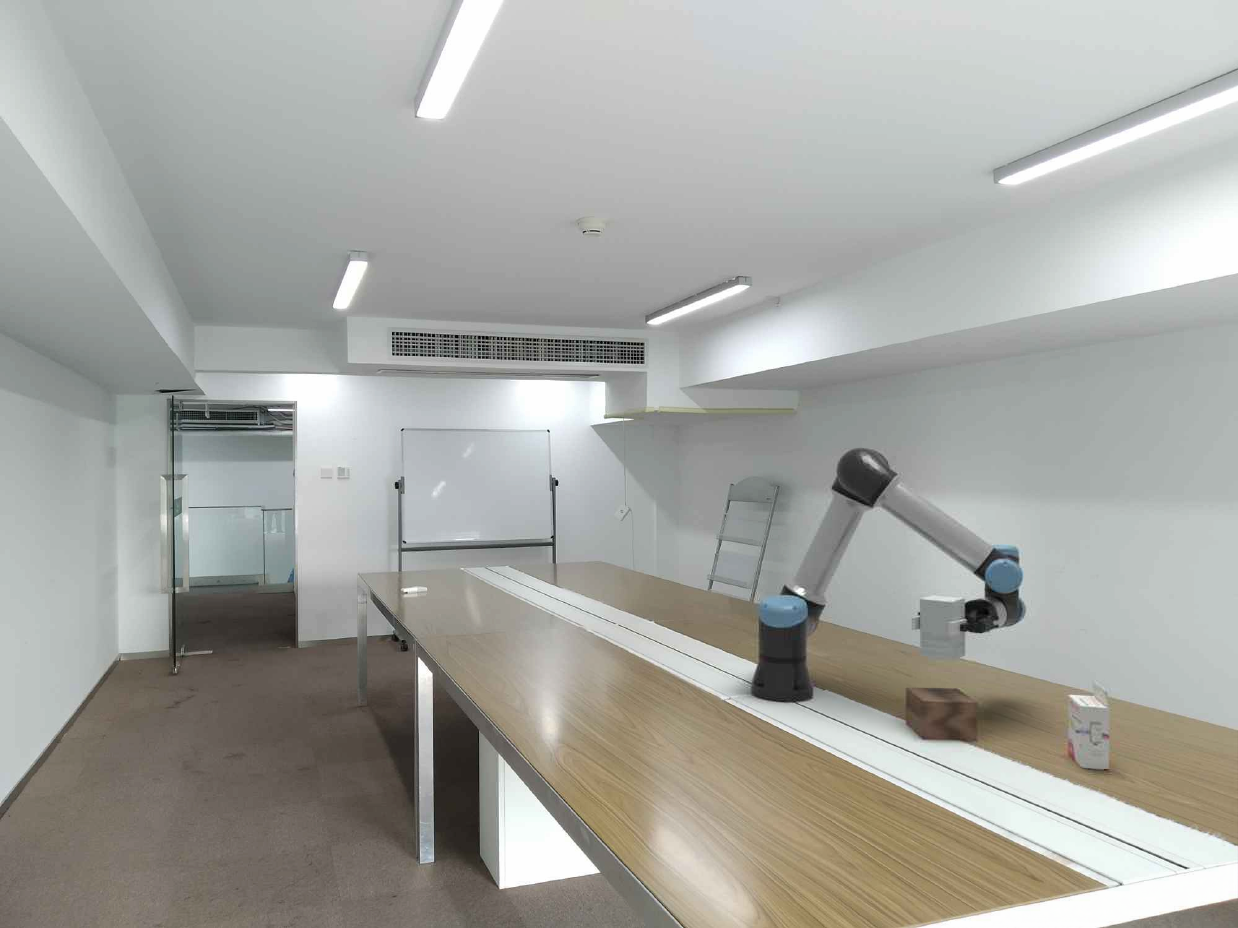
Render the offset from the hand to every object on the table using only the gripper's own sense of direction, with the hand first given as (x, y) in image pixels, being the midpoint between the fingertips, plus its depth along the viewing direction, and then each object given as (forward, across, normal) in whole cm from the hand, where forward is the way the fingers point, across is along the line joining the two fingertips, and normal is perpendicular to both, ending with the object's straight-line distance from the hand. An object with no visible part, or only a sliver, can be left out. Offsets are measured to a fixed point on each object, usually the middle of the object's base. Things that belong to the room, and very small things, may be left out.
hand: (931, 626), depth 180 cm
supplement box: (-5, 0, -7) cm, 9 cm away
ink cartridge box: (-5, -29, -22) cm, 37 cm away
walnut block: (-1, -2, -22) cm, 22 cm away
